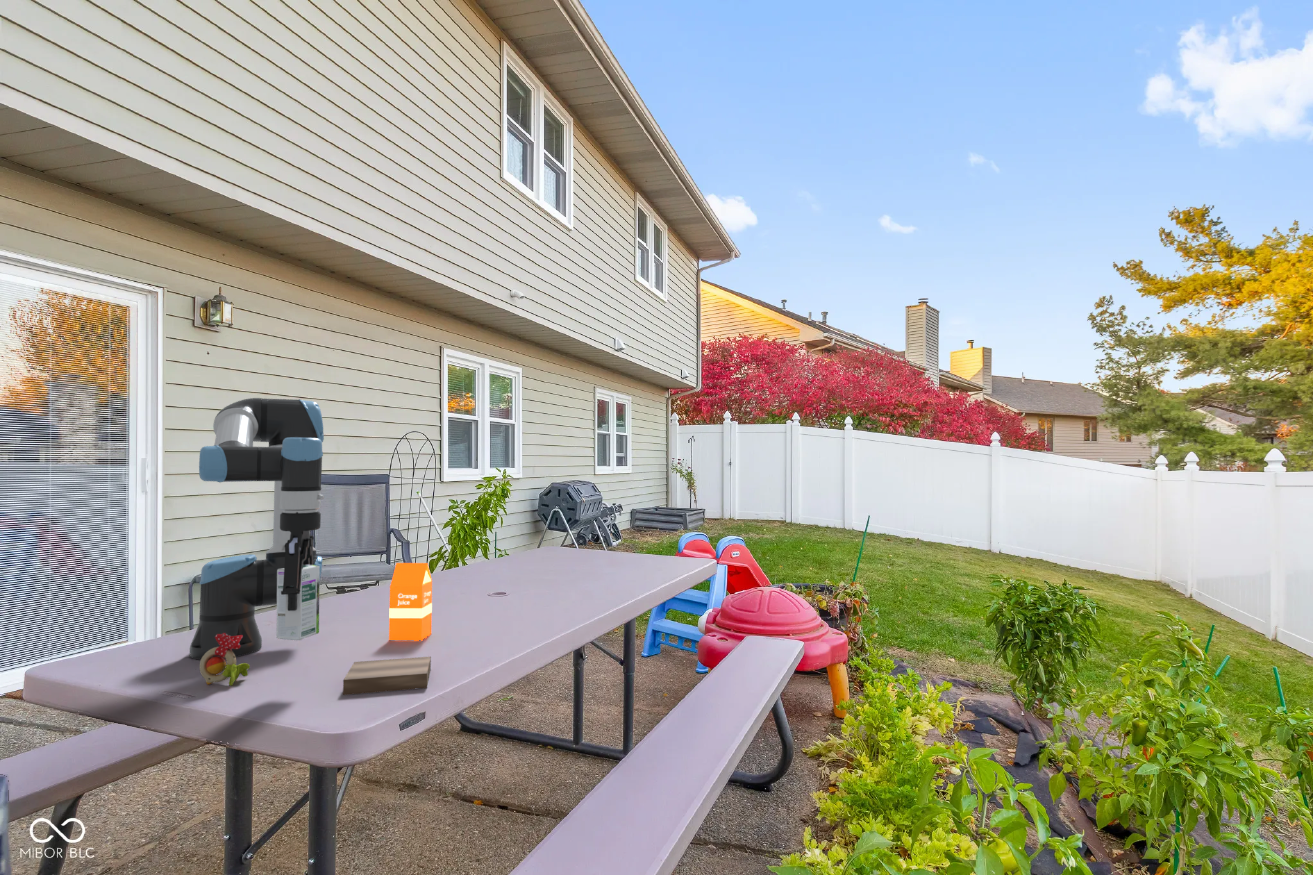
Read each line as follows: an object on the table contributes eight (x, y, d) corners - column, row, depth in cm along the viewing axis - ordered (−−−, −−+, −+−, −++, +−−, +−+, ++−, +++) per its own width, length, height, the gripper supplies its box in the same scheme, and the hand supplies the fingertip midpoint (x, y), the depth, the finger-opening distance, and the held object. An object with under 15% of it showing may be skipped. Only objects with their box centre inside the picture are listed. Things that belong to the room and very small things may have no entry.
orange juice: (421, 641, 177) (422, 565, 178) (388, 641, 177) (389, 564, 178) (431, 633, 184) (432, 560, 185) (400, 633, 185) (401, 560, 186)
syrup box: (299, 640, 136) (301, 569, 136) (274, 639, 137) (276, 567, 137) (319, 633, 141) (321, 564, 142) (295, 631, 142) (296, 563, 143)
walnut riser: (354, 675, 147) (354, 661, 147) (430, 669, 151) (430, 656, 151) (343, 694, 134) (343, 679, 135) (426, 688, 139) (427, 673, 139)
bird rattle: (202, 699, 138) (245, 680, 139) (180, 650, 138) (224, 631, 139) (217, 689, 144) (259, 671, 145) (197, 642, 144) (239, 624, 145)
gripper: (309, 514, 131) (306, 632, 130) (330, 507, 150) (327, 609, 150) (266, 515, 129) (263, 634, 128) (293, 507, 148) (290, 611, 148)
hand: (297, 621), depth 139 cm, fingers closed on syrup box, 7 cm apart
